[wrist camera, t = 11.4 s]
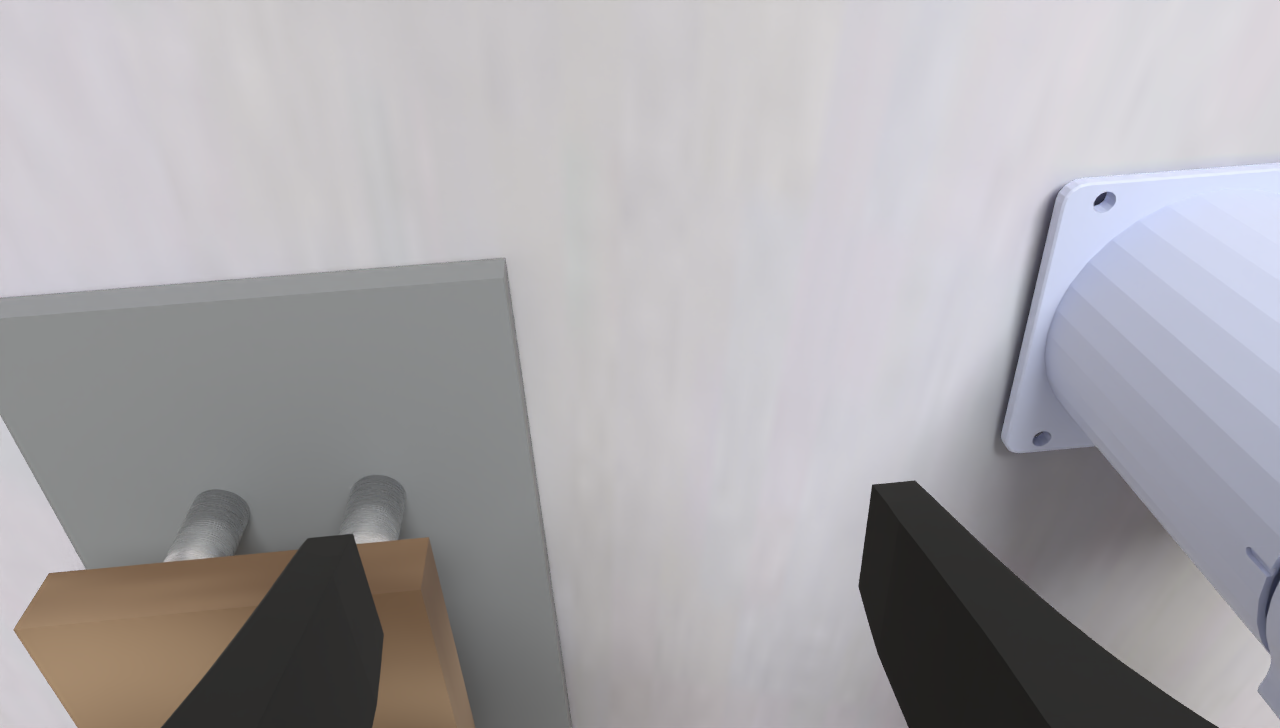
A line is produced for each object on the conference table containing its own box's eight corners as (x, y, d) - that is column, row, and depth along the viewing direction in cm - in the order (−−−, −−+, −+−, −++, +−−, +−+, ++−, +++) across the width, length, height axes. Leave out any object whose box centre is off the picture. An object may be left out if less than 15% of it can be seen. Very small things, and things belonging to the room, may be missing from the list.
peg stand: (505, 257, 21) (495, 363, 17) (581, 790, 33) (585, 920, 29) (-27, 299, 20) (-160, 419, 16) (252, 826, 32) (213, 964, 28)
